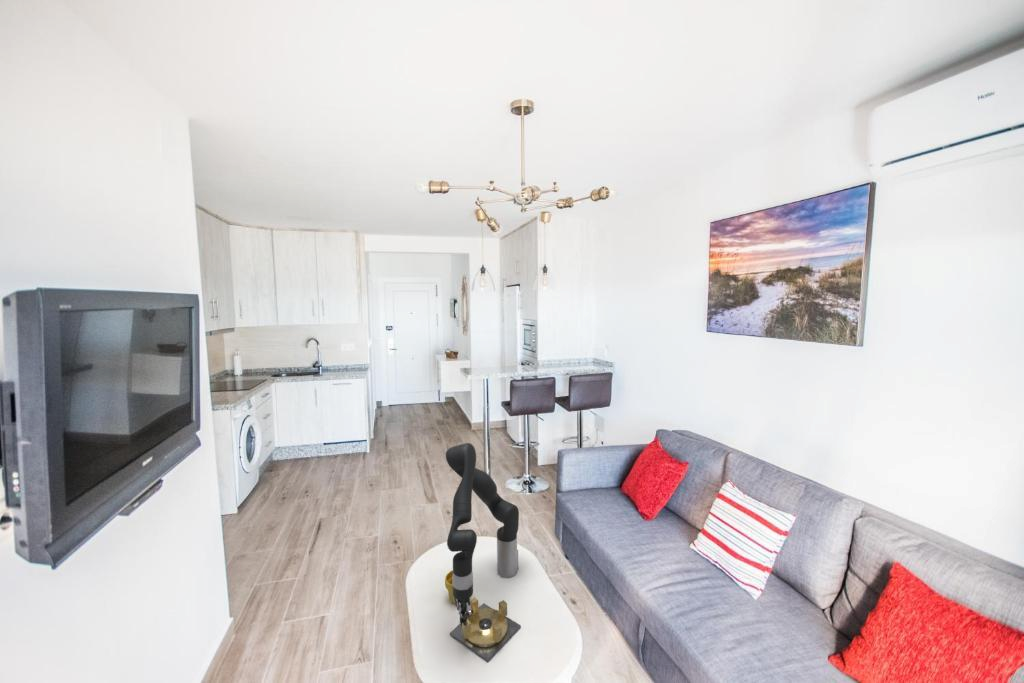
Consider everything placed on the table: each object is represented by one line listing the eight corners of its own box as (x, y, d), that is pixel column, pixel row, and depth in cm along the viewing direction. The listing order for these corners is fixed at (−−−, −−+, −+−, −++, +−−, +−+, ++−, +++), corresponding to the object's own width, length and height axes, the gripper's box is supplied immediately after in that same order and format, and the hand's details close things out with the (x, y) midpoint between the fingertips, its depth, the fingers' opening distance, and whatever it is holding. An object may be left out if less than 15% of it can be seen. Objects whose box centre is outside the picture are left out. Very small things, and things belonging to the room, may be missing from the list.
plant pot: (465, 608, 169) (465, 586, 168) (441, 605, 171) (441, 583, 170) (473, 591, 179) (472, 570, 178) (450, 588, 181) (450, 567, 180)
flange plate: (483, 605, 171) (483, 602, 170) (520, 627, 159) (520, 624, 159) (449, 635, 156) (449, 632, 155) (487, 662, 144) (487, 659, 144)
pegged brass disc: (451, 624, 159) (451, 608, 158) (492, 602, 170) (492, 588, 169) (477, 658, 144) (476, 641, 143) (520, 632, 155) (519, 616, 154)
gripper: (446, 574, 155) (447, 616, 157) (461, 597, 144) (461, 641, 146) (464, 567, 159) (464, 608, 161) (480, 588, 147) (480, 632, 150)
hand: (463, 623), depth 153 cm, fingers closed
